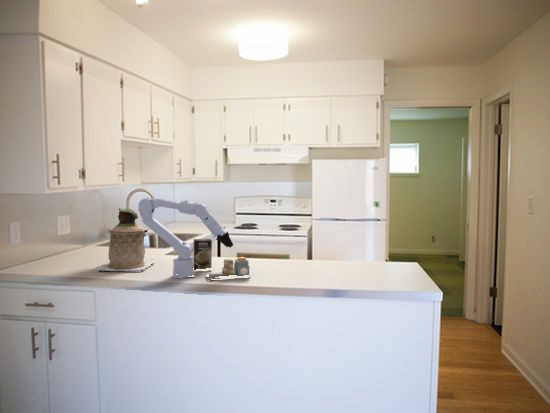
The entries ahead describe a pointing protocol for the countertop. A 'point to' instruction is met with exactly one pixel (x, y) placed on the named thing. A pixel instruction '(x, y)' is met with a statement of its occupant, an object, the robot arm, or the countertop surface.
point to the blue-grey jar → (241, 267)
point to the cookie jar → (126, 245)
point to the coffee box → (202, 253)
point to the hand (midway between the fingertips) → (230, 246)
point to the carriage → (228, 267)
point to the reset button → (241, 258)
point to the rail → (219, 274)
